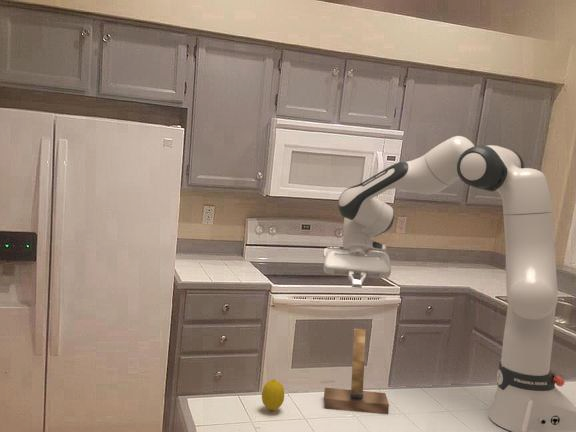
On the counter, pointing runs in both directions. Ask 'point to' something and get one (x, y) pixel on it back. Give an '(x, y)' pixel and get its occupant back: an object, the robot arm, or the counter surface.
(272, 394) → the lemon
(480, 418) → the counter surface
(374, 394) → the brown wooden block
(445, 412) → the counter surface
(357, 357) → the tan wooden peg
